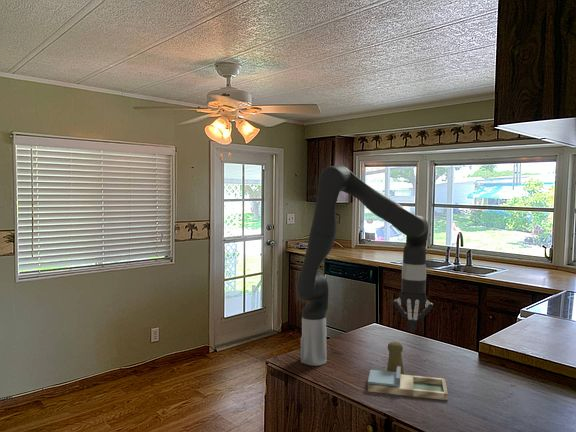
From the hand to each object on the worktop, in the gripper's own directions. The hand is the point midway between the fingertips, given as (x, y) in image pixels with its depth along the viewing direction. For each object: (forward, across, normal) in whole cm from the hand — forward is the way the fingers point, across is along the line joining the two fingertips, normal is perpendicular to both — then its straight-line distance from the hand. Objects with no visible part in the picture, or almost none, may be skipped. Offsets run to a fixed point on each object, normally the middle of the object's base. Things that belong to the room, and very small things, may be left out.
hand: (412, 330), depth 136 cm
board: (+19, -1, 0) cm, 19 cm away
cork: (+19, -5, +10) cm, 22 cm away
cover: (+17, -8, -1) cm, 19 cm away
